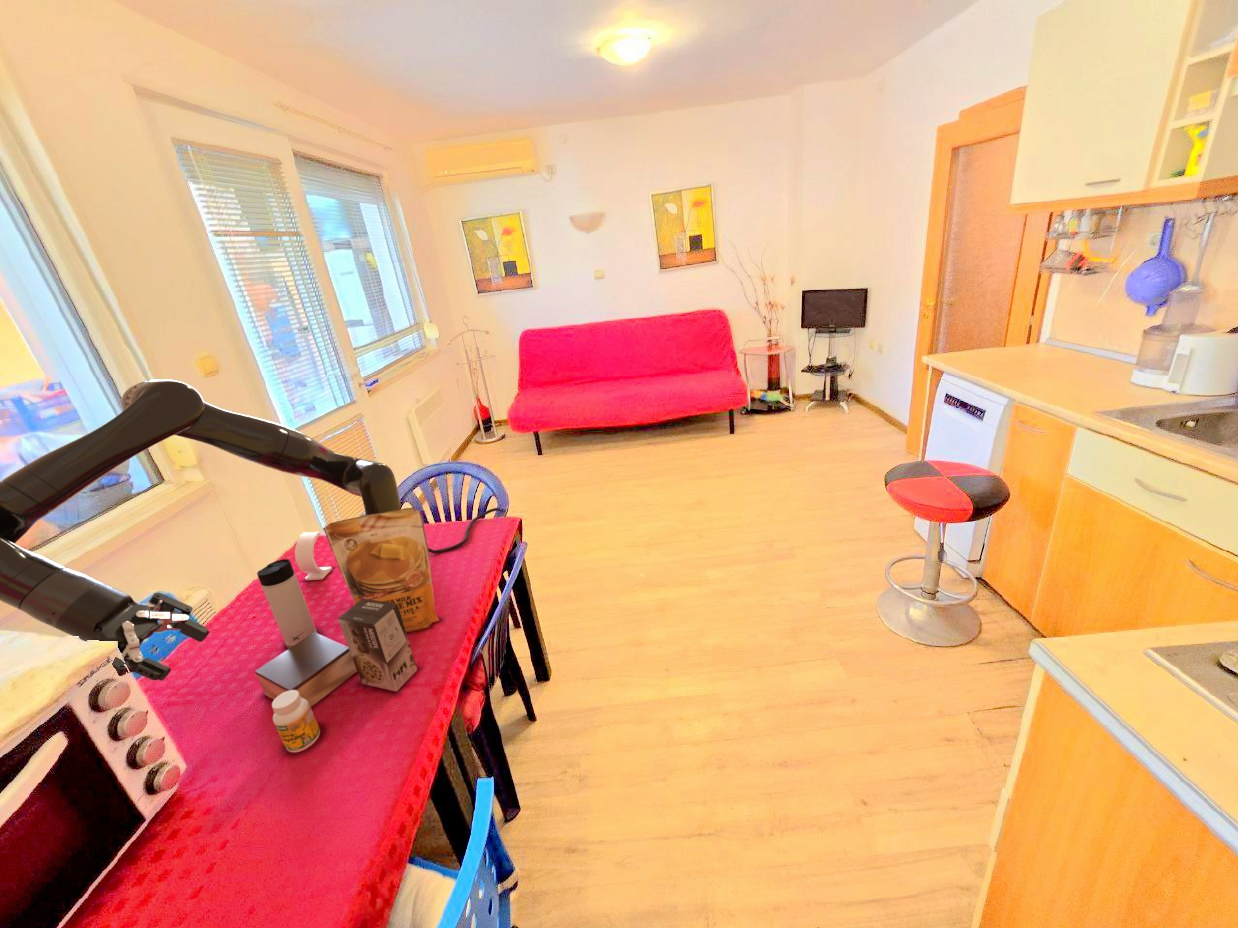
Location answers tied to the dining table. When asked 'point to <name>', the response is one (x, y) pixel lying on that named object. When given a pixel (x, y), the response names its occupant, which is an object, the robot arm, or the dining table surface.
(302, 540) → the headphone stand
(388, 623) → the coffee box
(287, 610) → the travel mug
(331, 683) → the stand
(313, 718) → the supplement bottle
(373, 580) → the pancake mix bag
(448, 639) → the dining table surface
